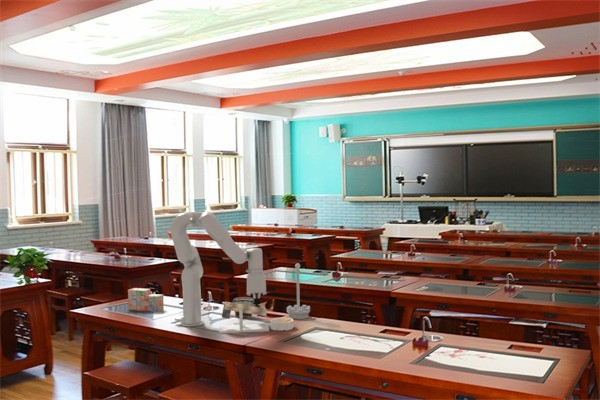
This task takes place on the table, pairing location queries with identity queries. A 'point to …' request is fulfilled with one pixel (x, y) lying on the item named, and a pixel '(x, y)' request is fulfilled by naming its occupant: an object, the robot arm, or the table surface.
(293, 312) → the flag stand
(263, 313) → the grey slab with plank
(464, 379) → the table surface
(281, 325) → the white bowl
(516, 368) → the table surface
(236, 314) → the food container
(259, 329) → the catapult stand
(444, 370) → the table surface
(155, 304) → the stack of blocks
